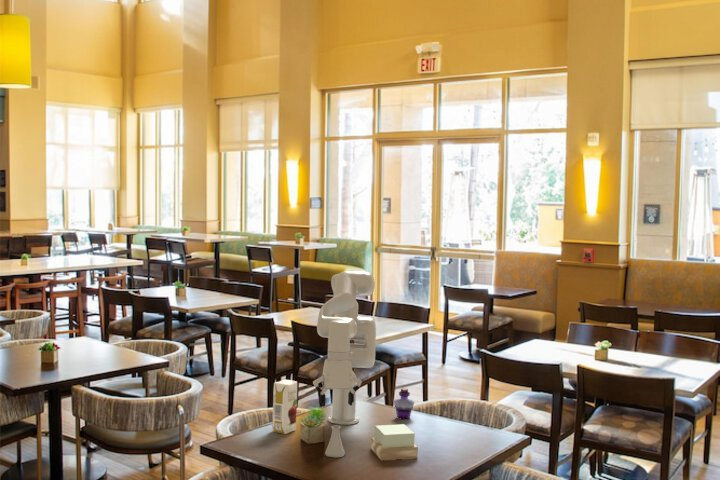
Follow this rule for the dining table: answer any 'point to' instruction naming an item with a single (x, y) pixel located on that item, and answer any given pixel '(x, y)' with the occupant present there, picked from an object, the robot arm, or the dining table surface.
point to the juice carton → (284, 406)
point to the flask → (335, 444)
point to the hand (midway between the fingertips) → (336, 405)
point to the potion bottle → (403, 405)
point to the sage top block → (394, 435)
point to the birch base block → (394, 451)
